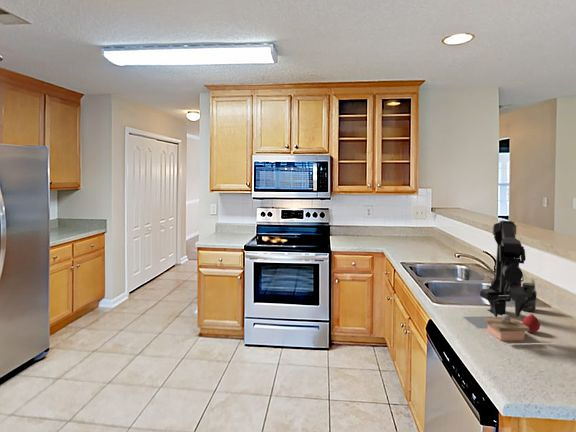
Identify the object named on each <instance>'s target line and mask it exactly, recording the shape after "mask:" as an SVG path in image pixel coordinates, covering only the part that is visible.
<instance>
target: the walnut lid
mask: <svg viewBox="0 0 576 432" xmlns="http://www.w3.org/2000/svg"><path fill="white" fill-rule="evenodd" d="M484 321H485V322H487V323H488V324H490V325H491V326H493V327H494V328H496V329H497V330H499V331H525V332H528V331H529V327H527V326H526V325H524V324H522V322H520V321H519V320H517V319H515V318H514V317H512V316H511V315H509V314H505V315H502V316H497V317H495V316H492V317H488V318H484Z"/></svg>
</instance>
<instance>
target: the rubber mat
mask: <svg viewBox="0 0 576 432" xmlns="http://www.w3.org/2000/svg"><path fill="white" fill-rule="evenodd" d="M488 317H493V316H488V315H487V316H462V318H464V319H465V320H466V321H467V322H468V323H470V324H472V325H473V326H474V327H476V328H477V329H487V328H488V323H487V322H485V321H484V318H488Z"/></svg>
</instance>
